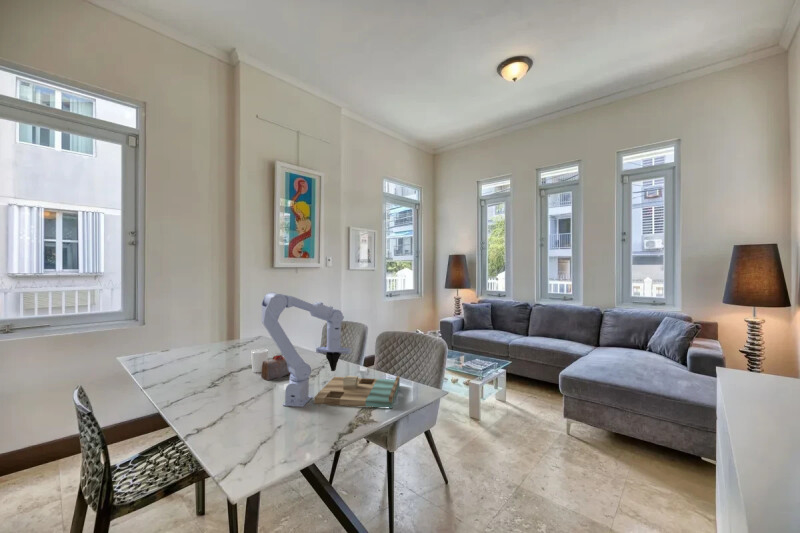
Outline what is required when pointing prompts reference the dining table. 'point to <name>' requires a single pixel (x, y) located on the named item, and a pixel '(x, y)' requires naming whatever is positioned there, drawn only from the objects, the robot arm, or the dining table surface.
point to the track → (360, 393)
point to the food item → (274, 368)
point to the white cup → (258, 359)
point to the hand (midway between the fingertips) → (333, 370)
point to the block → (350, 383)
